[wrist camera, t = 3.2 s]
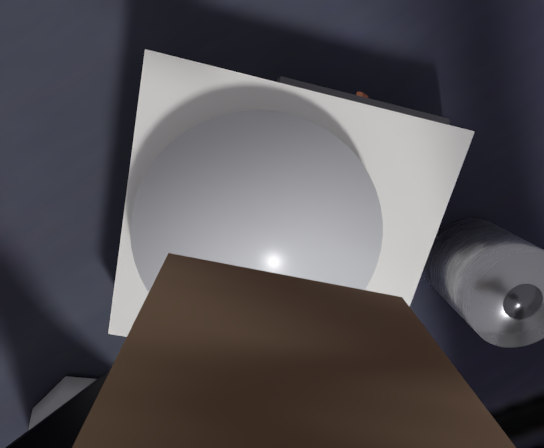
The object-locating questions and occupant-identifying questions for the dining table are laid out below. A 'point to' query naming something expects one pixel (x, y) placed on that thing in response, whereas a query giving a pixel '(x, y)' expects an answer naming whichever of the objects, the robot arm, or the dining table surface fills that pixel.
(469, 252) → the steel weight with knob
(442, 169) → the kitchen scale
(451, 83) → the dining table surface
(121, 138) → the dining table surface
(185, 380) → the walnut block
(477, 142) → the dining table surface
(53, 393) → the flask
